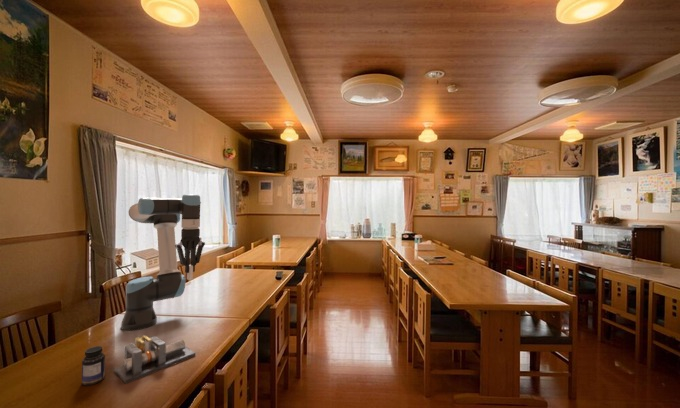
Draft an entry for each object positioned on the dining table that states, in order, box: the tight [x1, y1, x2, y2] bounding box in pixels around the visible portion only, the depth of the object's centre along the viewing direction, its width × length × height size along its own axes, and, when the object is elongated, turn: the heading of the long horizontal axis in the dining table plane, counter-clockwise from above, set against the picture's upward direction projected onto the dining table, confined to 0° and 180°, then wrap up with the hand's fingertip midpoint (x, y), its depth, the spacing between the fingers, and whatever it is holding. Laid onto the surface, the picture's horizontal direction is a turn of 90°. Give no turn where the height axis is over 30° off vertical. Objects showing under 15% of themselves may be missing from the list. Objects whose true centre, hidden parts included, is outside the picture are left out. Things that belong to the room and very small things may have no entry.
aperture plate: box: [134, 335, 151, 354], centre depth 112 cm, size 7×3×9 cm, turn 53°
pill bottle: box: [81, 345, 106, 386], centre depth 102 cm, size 6×6×11 cm
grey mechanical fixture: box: [113, 335, 196, 385], centre depth 114 cm, size 12×24×9 cm, turn 143°
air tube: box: [123, 339, 186, 371], centre depth 114 cm, size 20×4×4 cm, turn 143°
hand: (189, 279), depth 135 cm, fingers closed
